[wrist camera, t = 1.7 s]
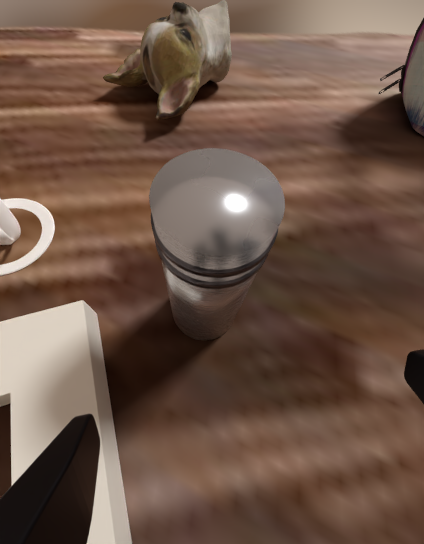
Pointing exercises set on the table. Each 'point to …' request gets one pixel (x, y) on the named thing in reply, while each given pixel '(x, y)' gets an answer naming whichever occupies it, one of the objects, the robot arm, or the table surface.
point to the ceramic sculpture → (179, 56)
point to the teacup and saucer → (6, 230)
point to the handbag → (413, 81)
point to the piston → (213, 234)
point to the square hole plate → (62, 400)
